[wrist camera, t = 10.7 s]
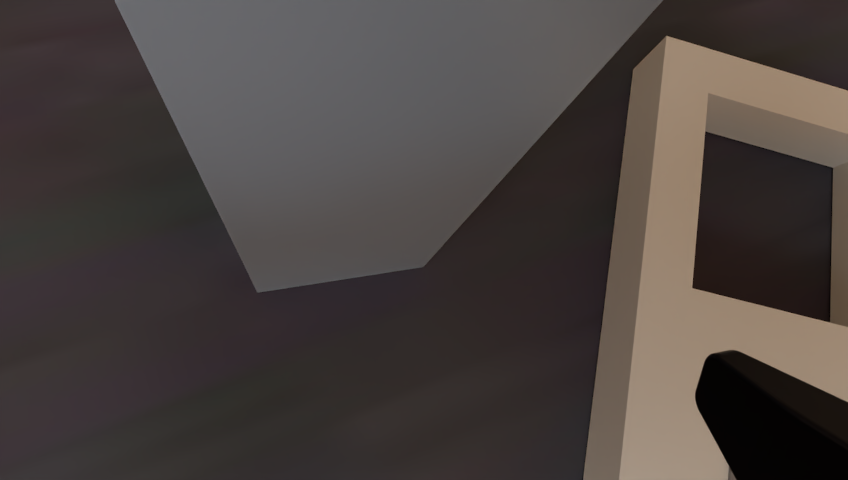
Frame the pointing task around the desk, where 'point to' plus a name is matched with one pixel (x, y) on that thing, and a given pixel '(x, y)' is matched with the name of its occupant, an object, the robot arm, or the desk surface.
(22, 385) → the desk surface
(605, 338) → the power strip
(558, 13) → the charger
